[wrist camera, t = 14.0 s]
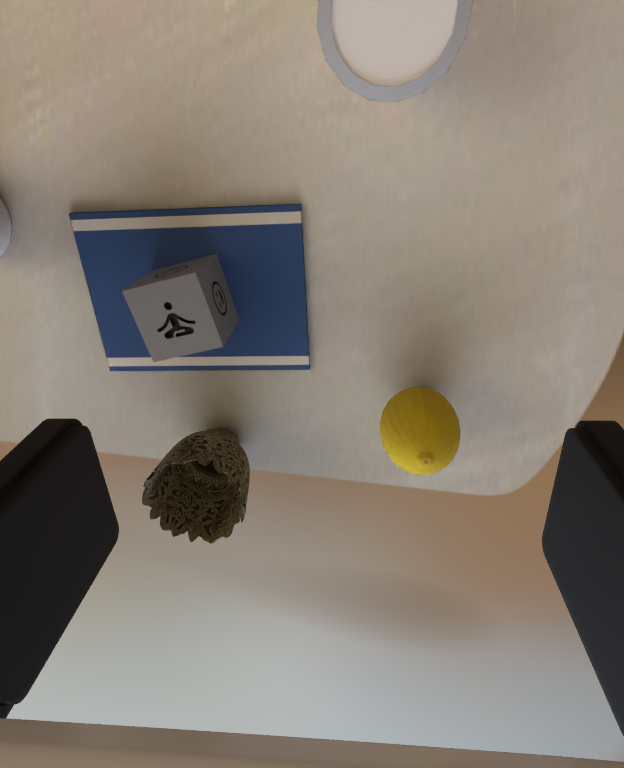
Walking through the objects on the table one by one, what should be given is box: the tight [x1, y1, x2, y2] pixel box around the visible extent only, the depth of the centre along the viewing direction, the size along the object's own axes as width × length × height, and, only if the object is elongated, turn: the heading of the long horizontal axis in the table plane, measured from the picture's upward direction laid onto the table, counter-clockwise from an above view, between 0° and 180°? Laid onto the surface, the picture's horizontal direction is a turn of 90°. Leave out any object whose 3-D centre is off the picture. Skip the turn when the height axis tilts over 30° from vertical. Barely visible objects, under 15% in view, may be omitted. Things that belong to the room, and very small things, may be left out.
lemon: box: [380, 387, 460, 475], centre depth 35 cm, size 6×6×8 cm
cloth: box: [69, 204, 310, 371], centre depth 36 cm, size 16×12×1 cm
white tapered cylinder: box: [317, 0, 472, 102], centre depth 25 cm, size 7×7×7 cm
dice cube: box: [122, 254, 240, 362], centre depth 33 cm, size 5×5×5 cm
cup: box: [142, 428, 250, 543], centre depth 38 cm, size 8×7×8 cm
